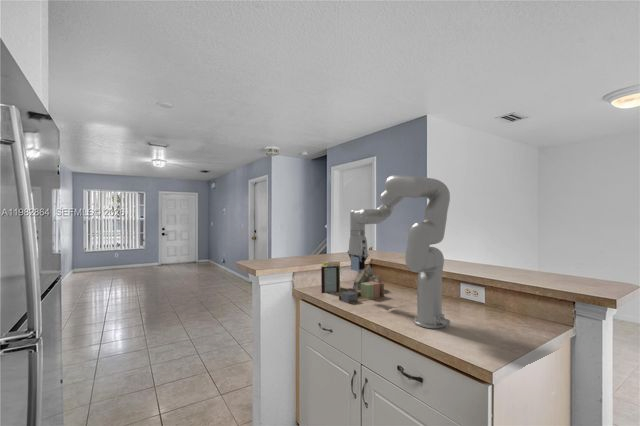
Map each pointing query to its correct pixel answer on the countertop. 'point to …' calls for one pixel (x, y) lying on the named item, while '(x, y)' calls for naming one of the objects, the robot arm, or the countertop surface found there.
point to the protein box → (330, 277)
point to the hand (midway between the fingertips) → (357, 267)
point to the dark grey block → (349, 297)
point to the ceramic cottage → (365, 278)
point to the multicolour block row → (361, 299)
